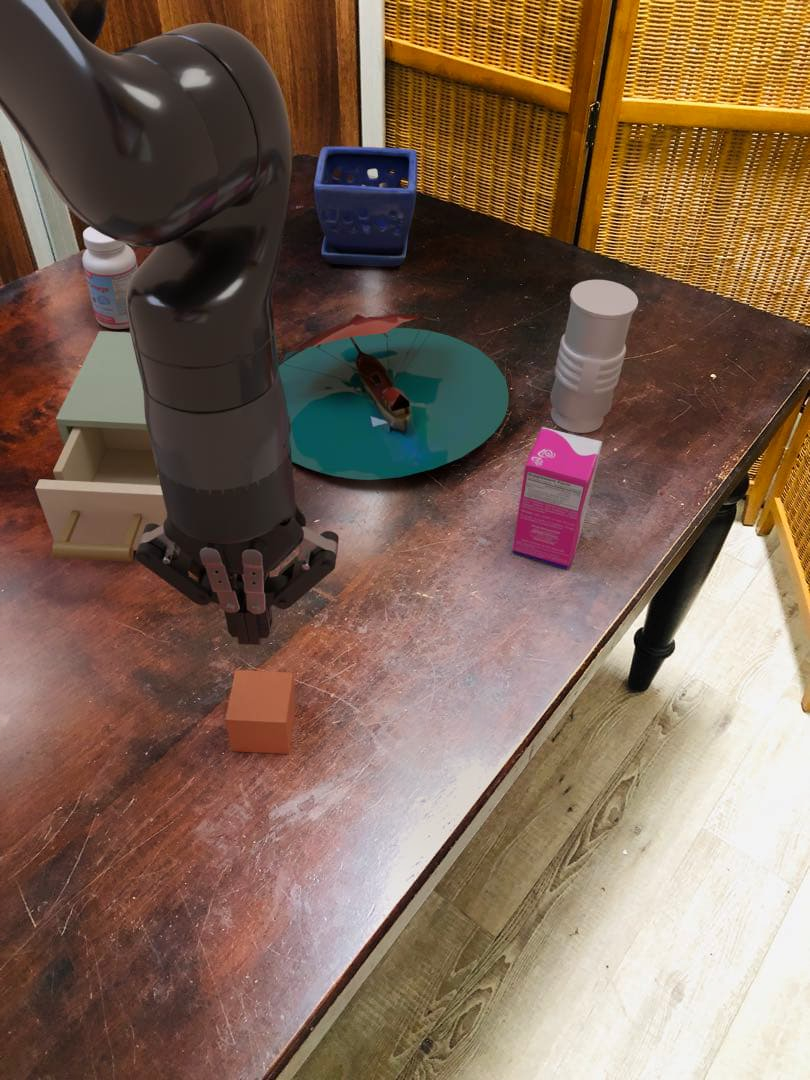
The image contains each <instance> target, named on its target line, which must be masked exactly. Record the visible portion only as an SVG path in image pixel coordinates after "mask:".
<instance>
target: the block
mask: <svg viewBox="0 0 810 1080" xmlns="http://www.w3.org/2000/svg"><path fill="white" fill-rule="evenodd" d="M231 685H232V686H231V689H230V693H229V699H228V703H227V709H226V714H225V718H224V719H225V720H224V721H225V725H226V726H225V727H226V730H227V735H228V741H229V747H230V750H231V752H240V753H242V752H245V753H260V754H263V753H264V754H278V755H279V754H281V755H289V754H290V753H291V745H292V739H293V731H294V725H295V724H294V723H295V718H296V711H297V697H296V687H295V686H296V685H295V675H294V672H289V671H266V670H249V669H235V670H234V676H233V679H232V684H231Z"/></svg>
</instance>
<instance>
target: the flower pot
mask: <svg viewBox="0 0 810 1080" xmlns="http://www.w3.org/2000/svg"><path fill="white" fill-rule="evenodd" d="M315 170H316V171H315V178H314V182H313V193H314V200H315V207H316V213H317V216H318V221H319V224H320V227H321V230H322V232H323V235H324V237H323V241H322V245H321V252H320V253H321V257H322V258H323V259H324V260H325V261H326V262H327V263H330V264H333V265H334V264H335V265H350V266H367V267H368V266H369V267H398V266H400V265H401V264H403V262H405V260H406V256H407V249H408V242H409V241H408V240H409V232H410V230H411V226H412V221H413V217H414V213H415V206H416V200H417V193H418V153H417V150H416V149H411V148H397V147H396V148H394V147H376V146H323V147H322V148H321V150H320V152H319V155H318V159H317V165H316V169H315ZM335 170H337V171H339V172H341V174H340V177H336V176H334V171H335ZM369 170H376V171H377V172H376V173H377V177H374V178H372V177H370V176H369V173H368V172H369ZM391 171H393V173H392V172H391ZM349 175H351V176H352V177H353V179H351V180H349V178H348V176H349ZM402 180H405V181H406V182H407V185H406V186H405V187H403V186H401V182H402ZM383 183H385V184H386V187H381V186H380V185H381V184H383Z"/></svg>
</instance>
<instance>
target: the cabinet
mask: <svg viewBox="0 0 810 1080" xmlns="http://www.w3.org/2000/svg"><path fill="white" fill-rule="evenodd" d="M55 422H56V425H57V428H58V431H59V432H58V433H59V435H60V438H61V442H62V444H63V447H64V446H65V444H66V442H67V440H68V438H69V436H70V434H71V432H72V429H73V427H74V426H78V427H97V428H116V429H135V430H147V425H146V420H145V411H144V394H143V387H142V382H141V377H140V373H139V369H138V364H137V360H136V355H135V351H134V347H133V342H132V337H131V333H130V332H127V331H126V332H125V331H121V332H120V331H107V330H105V331H103V330H99V331H98V333H97V335H96V337H95V339H94V341H93V343H92V345H91V347H90V349H89V351H88V353H87V355H86V357H85V358H84V361H83V363H82V365H81V366H80V369H79V371H78V373H77V375H76V377H75V378H74V381H73V383H72V385H71V387H70V389H69V391H68V393H67V395H66V397H65V399H64V401H63V403H62V404H61V407H60V409H59V411H58V413H57V415H56V417H55Z"/></svg>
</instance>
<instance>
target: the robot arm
mask: <svg viewBox="0 0 810 1080" xmlns="http://www.w3.org/2000/svg"><path fill="white" fill-rule="evenodd" d="M108 6H109V0H0V110H1V111H2V113H3V115H4V116H5V117H6V119H7V120H8V122H9V123H10V125H11V126H12V127H13V129H14V130H15V132H16V133H17V135H18V136H19V137H20V139H21V141H22V142H23V144H24V145H25V147H26V148H27V150H28V151H29V153H30V154H31V156H32V157H33V159H34V161H35V163H36V164H37V166H38V167H39V169H40V170H41V172H42V174H43V175H44V177H45V178H46V179H47V181H48V183H49V184H50V185H51V187H52V189H53V190H54V192H55V193H56V194H57V196H58V197H59V199H60V200H61V201H62V202H63V204H65V206H66V207H67V208H68V209H69V210H70V211H71V212H72V213H73V214H74V215H75V216H76V217H77V218H78V219H80V220H81V221H82V222H83V223H85V224H86V225H87V226H89V227H92V228H93V229H95V230H97V231H98V232H100V233H101V234H103V235H106V236H108V237H110V238H112V239H114V240H117V241H120V242H123V243H126V245H128V246H133V247H134V246H135V247H139V248H153V250H152V251H151V253H150V254H149V255H148V256H147V257H146V258H145V259H144V260H143V262H142V263H141V264H140V265H139V266H138V269H137V270H136V271H135V273H134V274H133V276H132V277H131V279H130V281H129V284H128V287H127V291H126V298H125V304H126V313H127V319H128V324H129V328H128V329H129V333H131V337H132V342H133V347H134V351H135V355H136V360H137V364H138V369H139V373H140V377H141V382H142V387H143V394H144V411H145V420H146V425H147V430H148V434H149V438H150V443H151V447H152V451H153V456H154V460H155V464H156V468H157V473H158V477H159V481H160V486H161V490H162V494H163V498H164V503H165V507H166V511H167V518H166V520H165V521H164V524H163V525H161V526H159V525H157V524H154V523H151V524H147V525H146V526H145V528H144V531H143V534H142V537H141V540H140V543H139V546H138V549H137V550H136V552H135V555H134V557H135V559H136V561H137V562H138V563H139V564H141V565H142V566H144V567H145V568H147V569H148V570H149V571H151V572H152V573H153V574H155V575H156V576H158V577H159V578H161V579H162V580H163V581H165V582H166V583H167V584H168V585H170V586H171V587H173V589H175V590H177V591H178V592H179V593H180V594H182V595H184V596H185V597H186V598H187V599H188V600H190V601H192V602H193V603H194V604H196V605H198V606H207V605H209V604H210V603H213V604H217V605H219V606H220V608H221V610H222V611H223V612H224V618H225V622H226V627H227V632H228V634H229V635H230V637H232V638H237V643H238V645H246V646H261V645H262V640H263V639H268V638H269V637H270V634H271V631H272V623H273V618H274V617H273V610H272V606H275V607H276V608H277V609H281V610H287V609H291V607H293V605H294V604H296V603H297V602H298V601H299V600H301V599H302V598H303V596H305V595H306V594H307V593H308V592H309V591H311V590H312V589H313V588H314V587H316V586H317V585H318V584H319V583H320V582H321V581H323V580H324V579H325V578H326V577H327V576H328V575H329V574H331V573H332V572H333V571H334V570H335V569H336V564H337V558H338V549H339V541H340V540H339V538H340V537H339V535H338V533H336V532H334V531H331V530H325V531H322V532H321V533H320V534H319V533H318V532H316V531H314V530H312V529H310V528H309V527H307V520H306V517H305V515H304V513H303V512H302V511H301V509H300V508H299V506H298V505H297V502H296V492H295V481H294V470H293V462H292V457H291V445H290V433H291V423H290V417H289V415H288V411H287V404H286V397H285V393H284V389H283V385H282V381H281V377H280V373H279V366H280V365H279V363H280V362H279V354H278V344H277V342H278V341H277V333H276V331H277V330H276V324H275V322H276V321H275V315H274V309H273V308H274V307H273V292H274V286H275V281H276V277H277V273H278V269H279V265H280V259H281V254H282V246H283V241H284V233H285V226H286V221H287V213H288V206H289V199H290V192H291V185H292V177H293V137H292V134H293V133H292V125H291V120H290V115H289V110H288V106H287V102H286V100H285V96H284V93H283V91H282V88H281V86H280V83H279V81H278V78H277V76H276V75H275V73H274V71H273V69H272V67H271V66H270V64H269V62H268V60H267V59H266V57H265V56H264V55H263V54H262V52H261V51H260V50H259V49H258V48H257V47H256V46H255V45H254V44H253V42H251V41H250V40H249V39H248V38H247V37H245V35H243V34H242V33H241V32H239V31H237V30H236V29H233V28H231V27H229V26H226V25H224V24H220V23H214V22H213V23H212V22H200V23H191V24H187V25H184V26H180V27H178V28H175V29H172V30H170V31H167V32H164V33H162V34H160V35H159V34H158V35H157V36H155V37H151V38H149V39H146V40H144V41H141V42H138V43H136V44H134V45H131V46H128V47H126V48H123V49H121V50H118V51H116V52H112V53H108V52H107V51H105V50H103V49H101V48H99V47H98V46H97V45H95V44H96V42H97V41H98V38H99V37H100V35H101V32H102V30H103V27H104V24H105V21H106V17H107V13H108ZM154 247H155V248H154ZM297 548H298V552H297V555H296V556H295V557H294V558H292V559H291V561H289V562H288V563H287V564H286V565H285V566H284V567H283V568H282V569H280V570H279V572H278V573H277V575H274V576H271V573H272V571H274V570H275V569H276V568H278V567H279V566H280V565H281V564H282V563H283V562H284V561H285V560H286V559H287V558H288V556H290V555H291V554H292V553H293V552H294V551H295V549H297ZM190 574H192V575H193V576H194V577H196V579H195V578H193V577H192V576H191V575H190Z"/></svg>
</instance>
